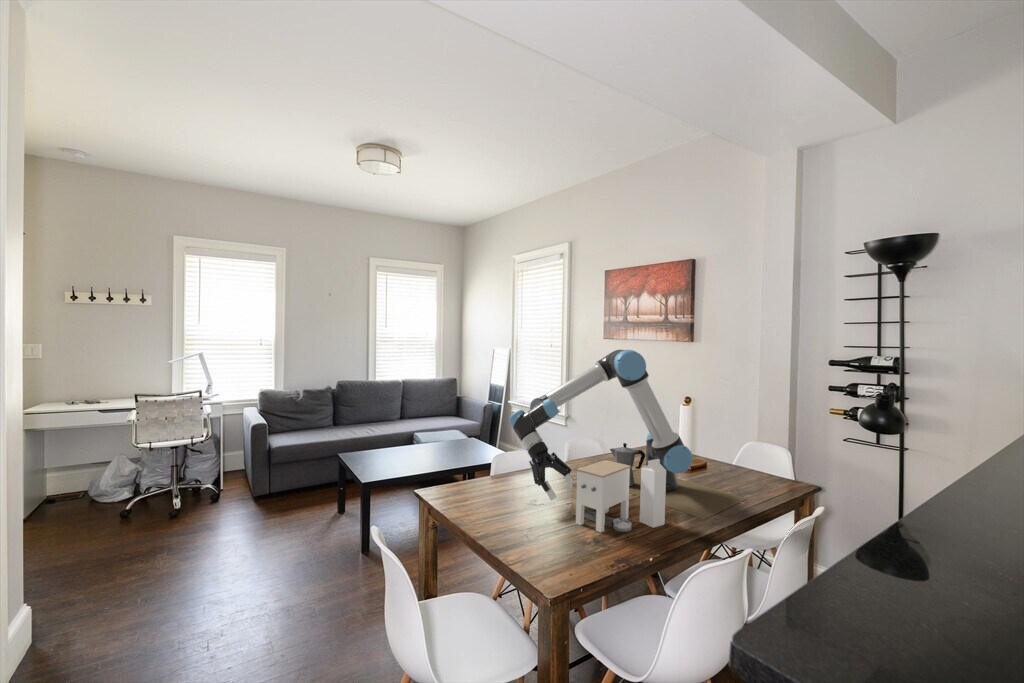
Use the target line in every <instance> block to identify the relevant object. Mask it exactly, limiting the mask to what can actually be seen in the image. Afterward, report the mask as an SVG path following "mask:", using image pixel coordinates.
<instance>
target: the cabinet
mask: <svg viewBox="0 0 1024 683" xmlns="http://www.w3.org/2000/svg"><path fill="white" fill-rule="evenodd" d="M630 468H631V466H629V465H625V464H621V463H616V462H615V461H611V460H606V459H603V460H601V461H598V462H594V463H592V464H591V463H590V464H588V465H585V466H581V467H578V468H577V469H576V482H577V497H576V515H575V524H576V525H579V526H582V525H584V524H585V518H584V506H587V508H590V509H594V510H596V511H595V513H596V522H595V531H596V532H599V533H602V532H605V525H604V524H605V516H606V514H607V513H609V508H611V507H613V506H615V505H618V504H620V514H619V515H620V517H619V518H624V519H629V511H630V510H629V507H630V505H629V504H630V502H629V500H630V487H629V477H630Z"/></svg>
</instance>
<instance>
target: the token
mask: <svg viewBox="0 0 1024 683" xmlns="http://www.w3.org/2000/svg"><path fill="white" fill-rule="evenodd" d="M632 524H633V522H632V521H631V520H630V519H629V518H627V519H624V518H620V517H616V518H614V520H613V526H612V528H613V530H614V531H617V532H621V533H629V532H631V531H632Z"/></svg>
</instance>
